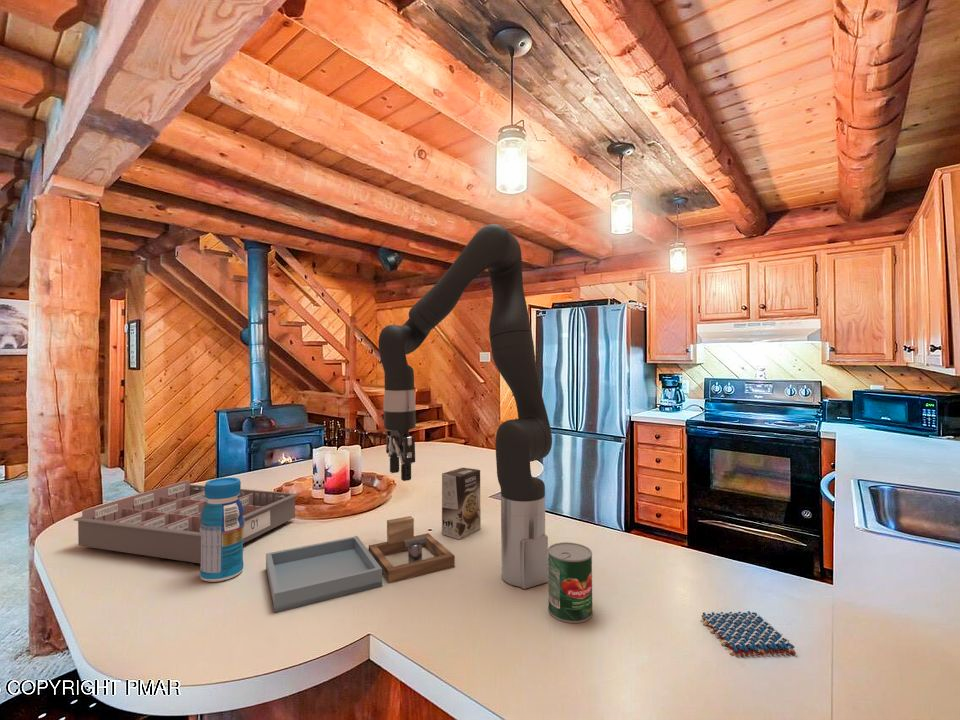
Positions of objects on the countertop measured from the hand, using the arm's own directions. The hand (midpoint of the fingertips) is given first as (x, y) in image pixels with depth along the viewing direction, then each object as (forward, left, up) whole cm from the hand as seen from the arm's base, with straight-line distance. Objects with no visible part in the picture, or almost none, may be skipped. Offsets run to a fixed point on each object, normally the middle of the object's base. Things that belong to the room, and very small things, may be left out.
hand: (400, 476), depth 111 cm
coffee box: (+3, -18, -18) cm, 26 cm away
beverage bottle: (+7, +38, -18) cm, 42 cm away
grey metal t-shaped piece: (-10, 0, -18) cm, 20 cm away
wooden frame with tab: (-7, 0, -18) cm, 19 cm away
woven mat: (-61, -38, -19) cm, 74 cm away
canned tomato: (-41, -18, -18) cm, 48 cm away
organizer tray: (+37, +44, -18) cm, 60 cm away
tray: (-5, +19, -18) cm, 27 cm away
